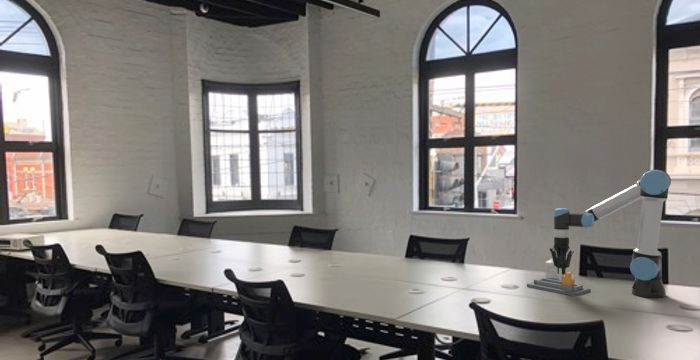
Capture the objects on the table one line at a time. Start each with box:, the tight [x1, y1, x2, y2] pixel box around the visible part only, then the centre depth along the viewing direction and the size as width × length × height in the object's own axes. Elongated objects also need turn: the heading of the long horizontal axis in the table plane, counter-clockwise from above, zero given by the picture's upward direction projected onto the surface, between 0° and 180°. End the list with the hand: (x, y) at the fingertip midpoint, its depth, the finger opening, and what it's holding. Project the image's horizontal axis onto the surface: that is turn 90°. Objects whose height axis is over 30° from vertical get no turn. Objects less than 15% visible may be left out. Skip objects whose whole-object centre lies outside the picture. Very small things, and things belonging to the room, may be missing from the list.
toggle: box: [562, 271, 576, 287], centre depth 265 cm, size 5×4×8 cm
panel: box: [526, 277, 592, 297], centre depth 270 cm, size 28×16×4 cm, turn 36°
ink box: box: [544, 258, 561, 281], centre depth 288 cm, size 9×8×13 cm
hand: (561, 279), depth 269 cm, fingers closed
